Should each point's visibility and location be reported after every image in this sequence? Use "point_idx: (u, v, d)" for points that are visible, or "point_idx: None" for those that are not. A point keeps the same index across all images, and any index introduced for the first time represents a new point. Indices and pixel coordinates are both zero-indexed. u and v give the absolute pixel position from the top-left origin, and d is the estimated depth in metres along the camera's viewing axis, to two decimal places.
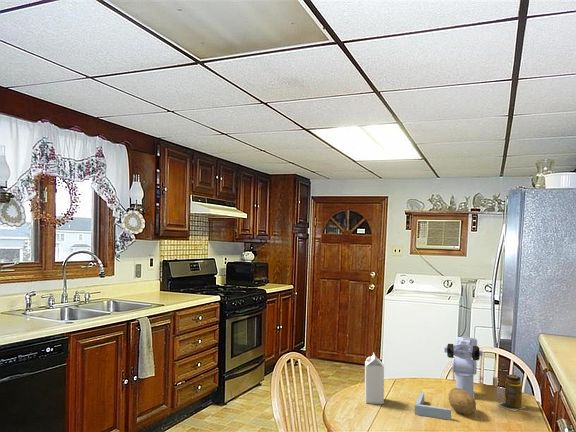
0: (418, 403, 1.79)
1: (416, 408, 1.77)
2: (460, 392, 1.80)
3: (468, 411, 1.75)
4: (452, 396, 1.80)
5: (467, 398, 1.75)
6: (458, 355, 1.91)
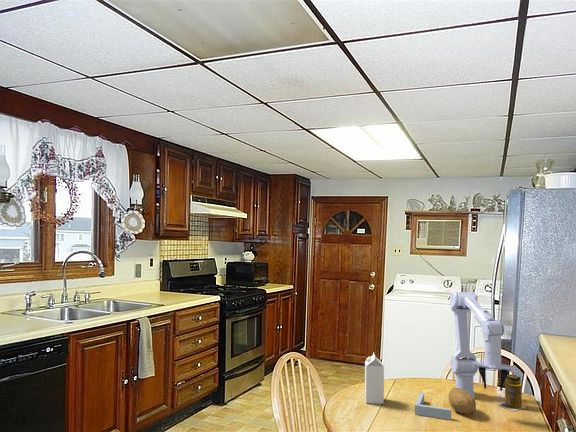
0: (418, 403, 1.79)
1: (416, 408, 1.77)
2: (460, 392, 1.80)
3: (468, 411, 1.75)
4: (452, 396, 1.80)
5: (467, 398, 1.75)
6: None
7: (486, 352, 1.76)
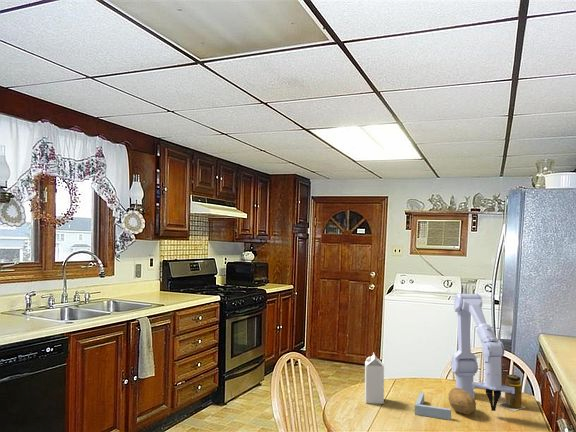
0: (418, 403, 1.79)
1: (416, 408, 1.77)
2: (460, 392, 1.80)
3: (468, 411, 1.75)
4: (452, 396, 1.80)
5: (467, 398, 1.75)
6: None
7: (486, 373, 1.76)
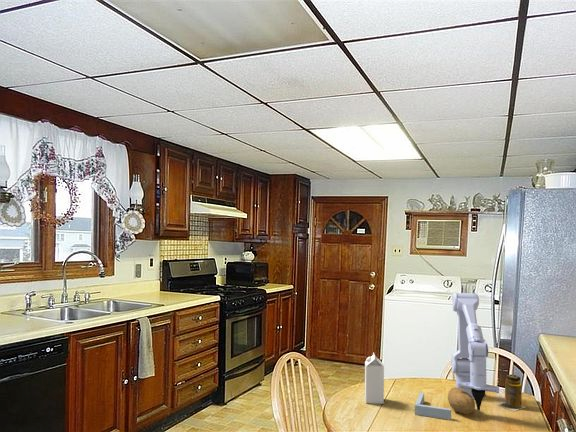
0: (418, 403, 1.79)
1: (416, 408, 1.77)
2: (459, 392, 1.80)
3: (467, 411, 1.75)
4: (451, 396, 1.80)
5: (466, 398, 1.75)
6: None
7: (471, 373, 1.78)
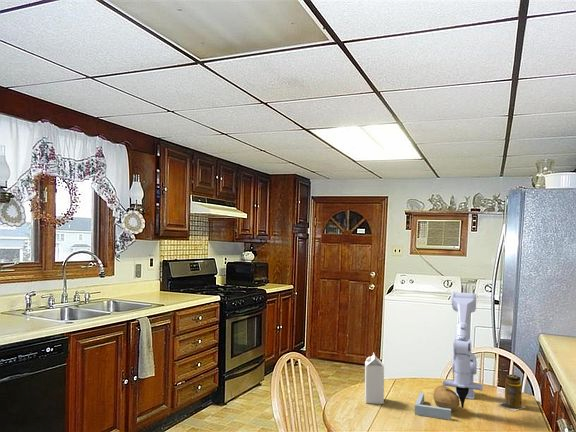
0: (418, 403, 1.79)
1: (416, 408, 1.77)
2: (444, 390, 1.82)
3: (451, 408, 1.77)
4: (436, 394, 1.82)
5: (450, 396, 1.77)
6: None
7: (455, 371, 1.80)
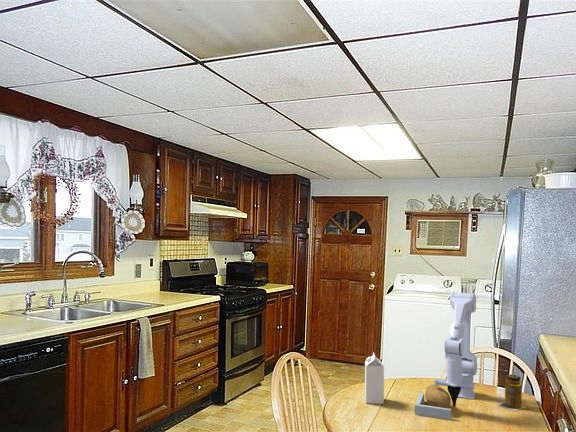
0: (418, 403, 1.79)
1: (416, 408, 1.77)
2: (436, 389, 1.83)
3: (443, 407, 1.78)
4: (428, 393, 1.83)
5: (442, 395, 1.79)
6: None
7: (447, 370, 1.81)
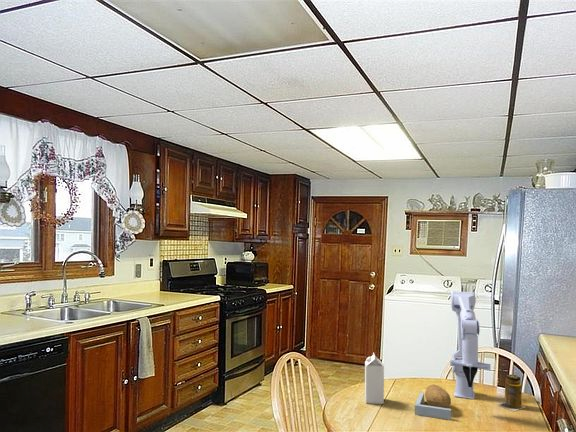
0: (418, 403, 1.79)
1: (416, 408, 1.77)
2: (436, 389, 1.84)
3: (443, 407, 1.78)
4: (428, 393, 1.84)
5: (442, 395, 1.79)
6: None
7: (463, 351, 1.81)
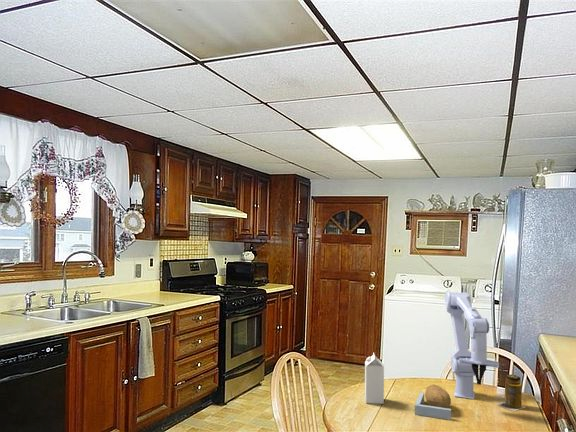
0: (418, 403, 1.79)
1: (416, 408, 1.77)
2: (436, 389, 1.84)
3: (443, 407, 1.78)
4: (428, 393, 1.84)
5: (442, 395, 1.79)
6: None
7: (472, 348, 1.84)
